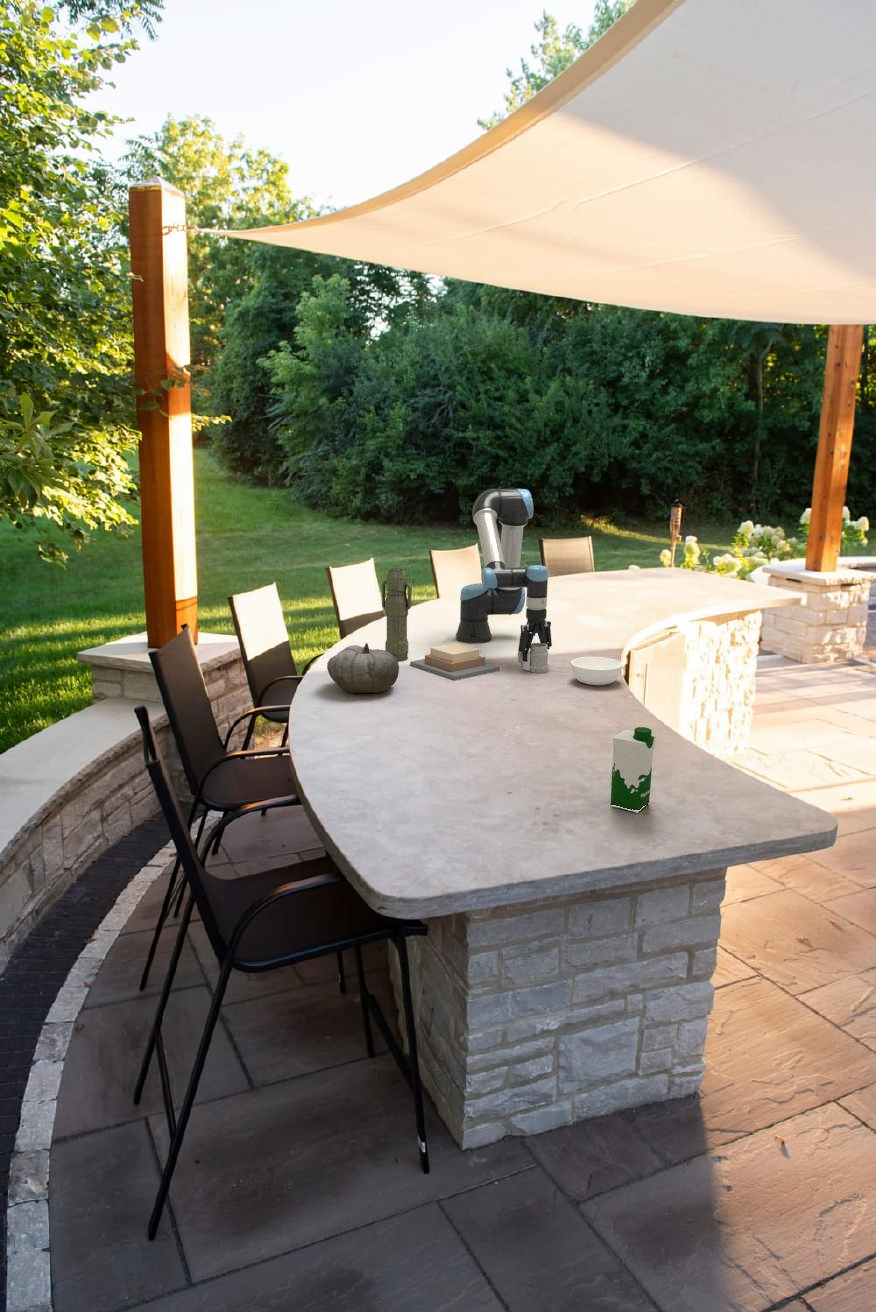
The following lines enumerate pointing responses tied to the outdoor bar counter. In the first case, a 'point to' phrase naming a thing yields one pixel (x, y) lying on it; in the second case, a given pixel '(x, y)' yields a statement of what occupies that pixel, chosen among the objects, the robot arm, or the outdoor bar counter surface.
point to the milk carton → (632, 768)
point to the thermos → (397, 613)
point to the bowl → (596, 670)
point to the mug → (537, 658)
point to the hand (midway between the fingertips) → (534, 667)
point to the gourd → (363, 669)
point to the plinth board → (457, 673)
